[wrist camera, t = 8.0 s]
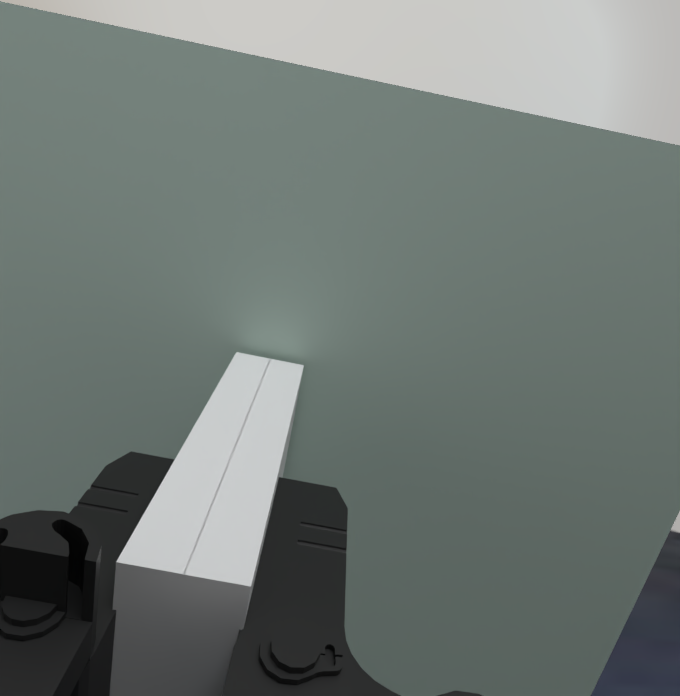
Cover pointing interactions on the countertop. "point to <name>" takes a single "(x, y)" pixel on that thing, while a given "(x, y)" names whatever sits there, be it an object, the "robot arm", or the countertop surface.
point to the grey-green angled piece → (355, 328)
